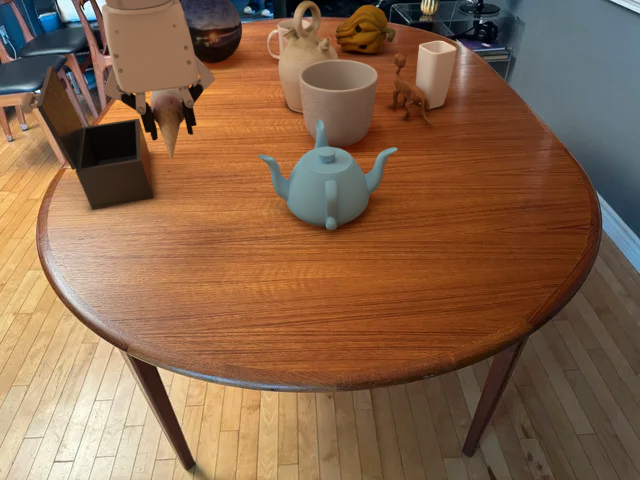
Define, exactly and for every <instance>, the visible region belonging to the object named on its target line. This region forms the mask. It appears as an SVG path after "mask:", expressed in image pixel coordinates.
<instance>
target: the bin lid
mask: <svg viewBox="0 0 640 480" xmlns="http://www.w3.org/2000/svg"><path fill="white" fill-rule="evenodd" d="M37 100H38V101H37ZM36 101H37V102H36ZM36 109H37V111H38V112H39V113H40V116H41V117H42V119H43V121H44V122H45V124H46V126H47V128H48V130H49V131H50V134H52V137H53V138H54V140H55V142H56V145H58V146H59V149H60V151H61V152H62V154H63V156H64V158H65V160H66V161H67V163H68V165H69V166H70V168H71V171H75V170H76V169H77V163H78V155H79V148H80V140H81V133H82V127H83V122H82V120H81V119H80V116H79V115H78V112H77V111H76V109H75V107H74V105H73V102H72V101H71V99H70V96H69V95H68V93H67V90H66V89H65V87H64V85H63V83H62V81H61V78H60V77H59V76H58V73H57V71H56V69H55V66H54V65H51V66H48V68H47V71H46V74H45V77H44V80H43V84H42V87H41V91H40V93H36V94H34V93H33V92H26V93H25V94H24V96H23V99H22V102H21V104H20V111H21V112H22V113H23V114H27V115H29V114H32V113H33V111H34V110H36Z"/></svg>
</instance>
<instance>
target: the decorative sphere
mask: <svg viewBox="0 0 640 480" xmlns="http://www.w3.org/2000/svg"><path fill="white" fill-rule="evenodd" d="M180 4H181V6H182V9H183V12H184V15H185V18H186V21H187V25H188V28H189V32H190V37H191V40H192V45H193V49H194V53H195V56H196V57H197V58H198V59H199V60H200V61H201V62H202V63H203V64H204V63H205V64H218V63H221V62H224V61H226V60H228V59H229V58H230V57H232V56H233V55H234V54H235V52H236V51H237V49H238V48H239V46H240V44H241V41H242V35H243V24H242V19H241V16H240V14H239V11H238V9H237V8H236V6H235V5H234V4H233V2H231V0H181V1H180Z"/></svg>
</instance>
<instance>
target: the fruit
mask: <svg viewBox="0 0 640 480" xmlns="http://www.w3.org/2000/svg"><path fill="white" fill-rule="evenodd" d="M388 25H389V24H388V18H387V17H386V13H385V12H384V11H383V10H382V9H381V8H380V7H377V6H376V5H372V4H365V5H362V6H360V7H358V9H356V10H355V11H354V13H353V14H352V15H351V16H350V17H349V18H347V19H346V20H345V21H343V22H342V24H339V25H338V26H337V28H336V29H335V33H336V34H335V36H334V37H335V38H336V44H337V45H339V46H340V48H341V50H342V51H344V52H350V51H351V52H352V51H353V52H354V51H355V52H361V53H366V54H377V53H379V52H380V51H381V50H382V48H383V45H384V43H385V41H386V42H387V43H390V44H391V43H392V42H393V40H394V38H395V36H396V30H395V29H394V28H391V27H388Z"/></svg>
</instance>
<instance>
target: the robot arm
mask: <svg viewBox="0 0 640 480" xmlns="http://www.w3.org/2000/svg"><path fill="white" fill-rule="evenodd" d="M104 1H105V4H103V5H102V6H101V13H102V14H101V15H102V22H103V28H104V34H105V39H106V40H105V41H106V44H107V48H108V53H109V56H110V61H111V65H112V67H111V69H110V72H109V75H108V77H107V80H106V81H105V85H104V89H103V93H104V95H105V96H107V97H110V98H111V99H114V100H117V101H119V102H121V103H123V104H124V105H125V106H128V107H129V108H131V109H133V110H134V111H136V114H138V115H140V118H141V121H142V125H143V130H144V133H146V134H150V136H151V139H152V141H157V140H158V138H159V136H158V128H157V124H156V121H155V120H154V117H153V113H152V109H151V105H150V104H149V103H148V102H147V101H146V99H147V98H146V93H148V92H152V91H157V90H165V89H172V88H178V90H179V92H180V94H181V96H182V101H183V102H181V103H182V108H183V113H184V121H185V126H186V130H187V131H186V132H187V134H188V135H190V136H192V135H194V130H193V127H196V126H197V125H198V124H197V120H196V115H195V110H194V106H195V104H196V102H197V101H198V99H199V98H200V97H201V95H202V93H203V92H204V91H205V90H207V88H208V87H210V86H211V84H213V83H214V82H215V80H216V78H215V75H214V73H213V72H212V71H211V70H210V69H209V68H208V67H207V66H206V65H205V64H204V62H201V61H200V60H199V59H198V58H197V57H196V56H195V53H194V49H193V45H192V40H191V37H190V32H189V28H188V25H187V21H186V18H185V15H184V12H183V9H182V6H181V4H180V2H181V1H180V0H104ZM199 76H200V77H199Z"/></svg>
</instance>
